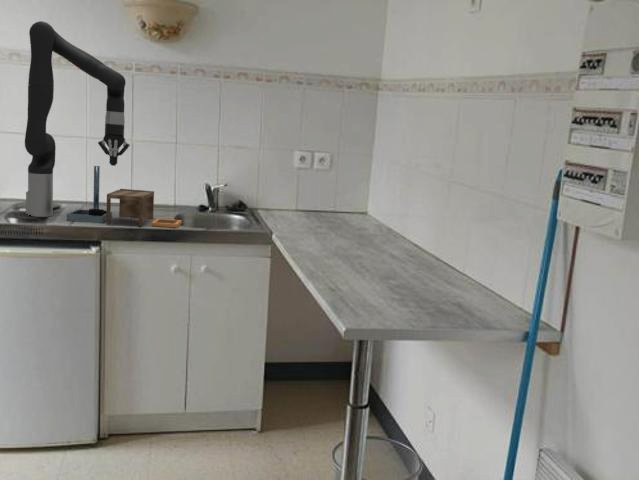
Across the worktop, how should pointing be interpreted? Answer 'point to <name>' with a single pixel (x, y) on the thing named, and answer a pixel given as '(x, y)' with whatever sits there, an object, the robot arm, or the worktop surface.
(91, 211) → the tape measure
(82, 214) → the stand with upright post
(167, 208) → the worktop surface
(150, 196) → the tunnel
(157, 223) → the tray
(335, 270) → the worktop surface
